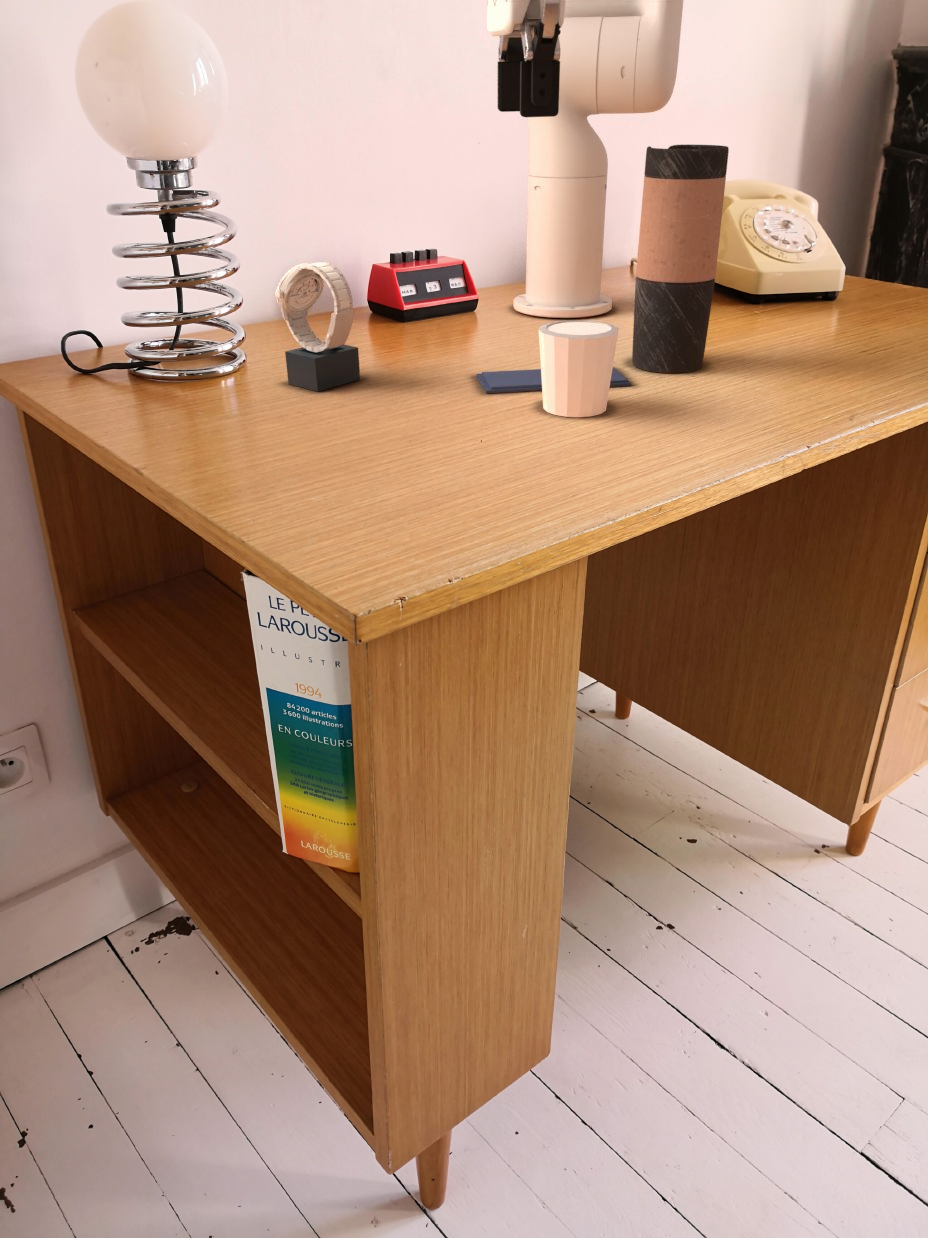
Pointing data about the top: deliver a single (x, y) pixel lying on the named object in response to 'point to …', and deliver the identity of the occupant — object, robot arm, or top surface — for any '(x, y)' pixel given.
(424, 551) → the top surface
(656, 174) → the travel mug
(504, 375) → the blue flat rectangular slab
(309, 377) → the watch
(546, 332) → the cream tapered cup
